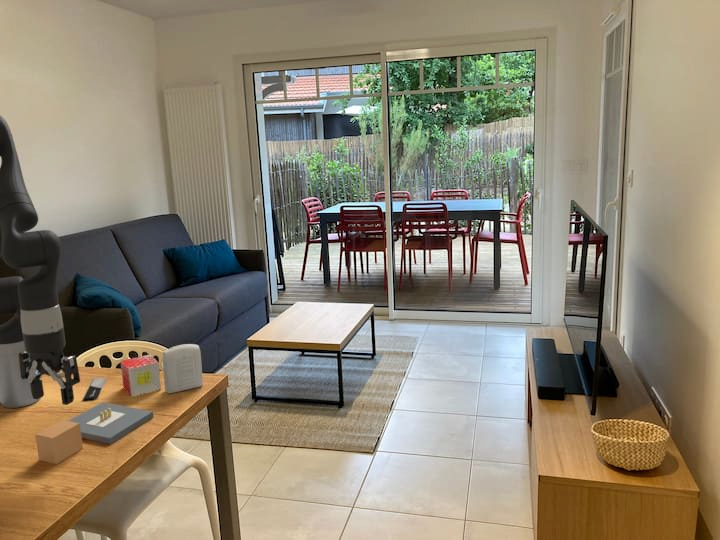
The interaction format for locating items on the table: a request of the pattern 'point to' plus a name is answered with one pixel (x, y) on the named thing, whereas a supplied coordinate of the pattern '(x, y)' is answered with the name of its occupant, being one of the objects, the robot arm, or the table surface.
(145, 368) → the red and white cube
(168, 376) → the photo printer
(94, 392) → the computer memory module
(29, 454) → the table surface
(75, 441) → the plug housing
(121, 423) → the board
